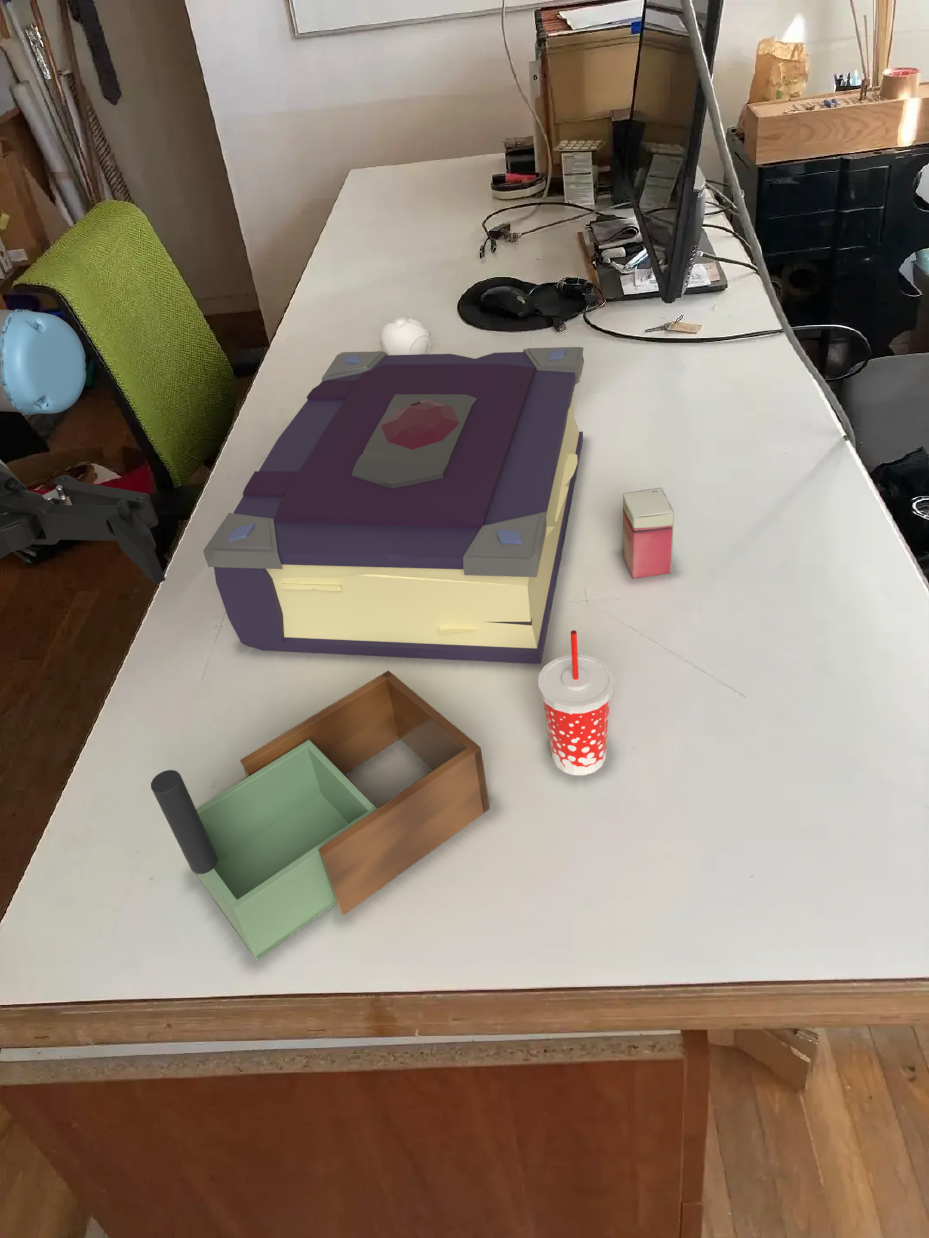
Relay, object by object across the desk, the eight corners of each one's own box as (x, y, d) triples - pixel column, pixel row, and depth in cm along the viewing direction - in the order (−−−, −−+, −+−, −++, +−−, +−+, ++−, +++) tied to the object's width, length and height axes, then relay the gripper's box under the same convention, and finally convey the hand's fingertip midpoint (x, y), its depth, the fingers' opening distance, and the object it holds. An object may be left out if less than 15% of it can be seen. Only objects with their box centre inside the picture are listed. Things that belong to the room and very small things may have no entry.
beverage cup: (608, 787, 77) (607, 663, 68) (536, 777, 79) (525, 654, 70) (619, 733, 81) (619, 610, 73) (551, 725, 83) (542, 603, 74)
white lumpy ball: (438, 354, 148) (432, 306, 143) (426, 375, 143) (419, 326, 138) (391, 354, 150) (383, 307, 145) (377, 375, 144) (368, 327, 140)
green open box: (248, 966, 68) (185, 835, 58) (188, 879, 74) (121, 748, 65) (393, 862, 73) (357, 727, 64) (325, 790, 80) (283, 657, 70)
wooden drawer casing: (343, 915, 70) (323, 855, 66) (262, 819, 78) (239, 759, 74) (490, 809, 77) (481, 747, 72) (401, 730, 85) (388, 669, 80)
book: (225, 651, 96) (184, 540, 87) (347, 437, 130) (327, 341, 121) (545, 667, 89) (536, 547, 80) (587, 436, 123) (584, 334, 114)
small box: (621, 553, 102) (621, 491, 97) (659, 547, 102) (661, 485, 97) (632, 580, 98) (632, 518, 93) (672, 574, 98) (675, 511, 93)
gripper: (129, 478, 84) (239, 574, 70) (-167, 603, 73) (-105, 746, 59) (100, 402, 79) (212, 488, 65) (-222, 523, 68) (-168, 658, 54)
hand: (61, 611), depth 62 cm, fingers open, 13 cm apart
